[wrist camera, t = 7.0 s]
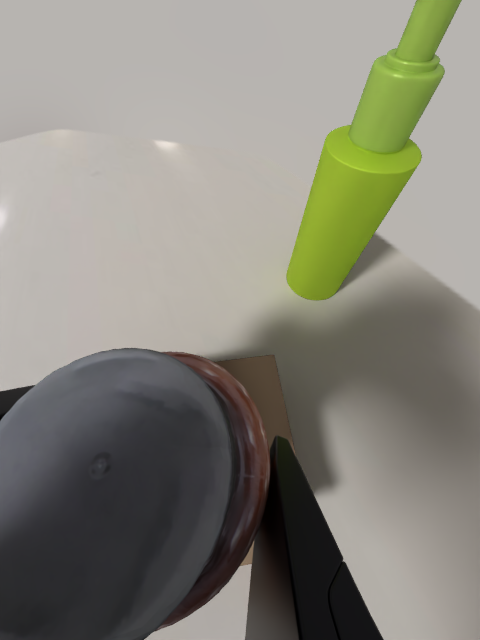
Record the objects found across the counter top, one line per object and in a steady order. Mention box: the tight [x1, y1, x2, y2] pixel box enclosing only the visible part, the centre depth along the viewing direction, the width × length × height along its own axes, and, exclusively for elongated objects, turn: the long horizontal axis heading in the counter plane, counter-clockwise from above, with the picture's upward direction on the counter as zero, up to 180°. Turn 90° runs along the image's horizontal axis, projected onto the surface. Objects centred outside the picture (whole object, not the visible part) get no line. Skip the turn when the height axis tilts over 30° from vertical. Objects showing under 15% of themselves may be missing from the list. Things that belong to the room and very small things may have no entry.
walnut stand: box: [214, 355, 296, 566], centre depth 16 cm, size 11×11×4 cm
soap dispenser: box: [287, 0, 461, 300], centre depth 17 cm, size 6×7×20 cm
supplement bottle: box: [0, 348, 270, 640], centre depth 8 cm, size 6×6×11 cm
